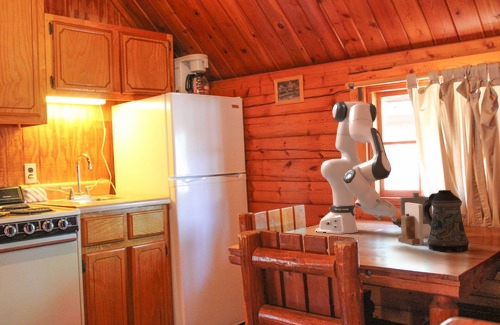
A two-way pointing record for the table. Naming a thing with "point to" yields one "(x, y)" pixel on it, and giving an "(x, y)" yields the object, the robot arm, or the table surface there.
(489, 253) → the table surface
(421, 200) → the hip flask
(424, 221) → the wood carving
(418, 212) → the wall board
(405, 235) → the cabinet block
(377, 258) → the table surface
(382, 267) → the table surface
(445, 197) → the beer stein
